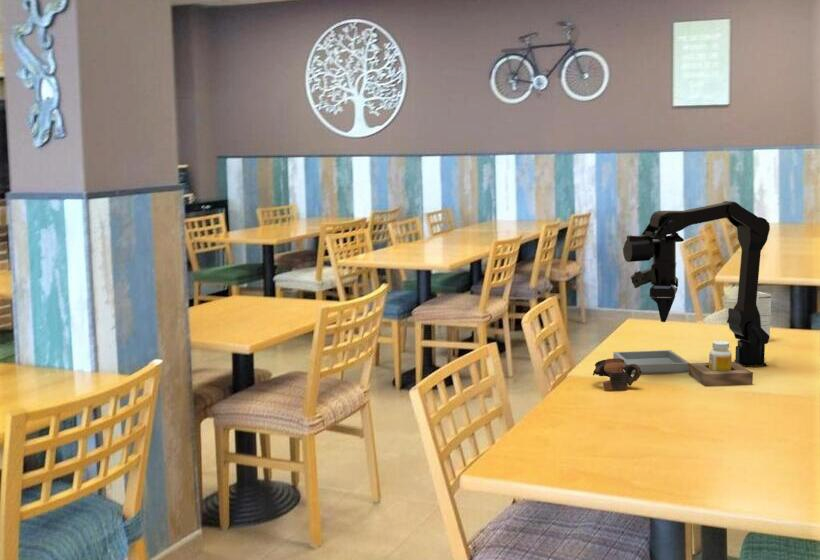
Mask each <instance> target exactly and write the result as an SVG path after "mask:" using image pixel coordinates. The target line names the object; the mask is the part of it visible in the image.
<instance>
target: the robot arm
mask: <svg viewBox="0 0 820 560" xmlns="http://www.w3.org/2000/svg"><path fill="white" fill-rule="evenodd" d="M722 219H727V220H728V222H729V223H730V224H731V225H733V227H735V228H736V230H737V231H736V232H737V234H736V235H737V240H738V242H739V246H740V248H741V255H740V265H739V277H738V291H737V300H736V301H737V302H736V304H735V305H734V307H733V308H731V307H729V308H728V310H727V312H728V317H727V320H726V323H727V324H728V328H729V330H730V331H731V332H732V333H733V336H734V338H735V339H736V340H737V345H736V346H735V359H734V362H736V363H738V364H739V365H741V366H743V367H758V366H759V367H764V366H768V363H767V362H765V354H766V353H765V349H766V345H767V344H768V343H769V342H770V341H769V338H770V336H771V335H770V336H769V335H768V334H767V333H766V332H765V331H764V330H763V329H762V328H761V319H760V314H759V311H758V308H757V305H756V301H757V292H758V286H759V275H760V263H761V256H762V255H761V253H762V250H763V248H764V247H765V245H766V244H767V241H768V238H769V234H770V230H771V226H770V223H769V222H768V220H767V219H766V218H764V217H760V216H757V215H756V214H754V213H753V212H751V211H749V210H747V209H746V208H745V207H743V206H742V205H740V204H739V203H738V202H736V201H729V200H725V201H723V202H719V203H714V204H710V205H705V206H700V207H695V208H691V209H685V210H657V211H654V212H653V213H652V215H651V217H650V219H649V223H648V224H647V226H646V227H645V229H644V230H643V232H642V233H641V234H640V235H632V234H631V235H629V234H628V235H626V240H625V241H624V245H623V247H622V253H623V258H624V260H625V262H626V263H633V262H648V261H650V260H651V259H652V264H651V266H650V267H651V268H647V269H644V270H639V271H635V272H634V273H633V274H632V275H630V279H631V283H632V285H633V288H634V289H638V288H640V287H641V286H643V285H647V284H649V283H650V285H651V287H650V288H649V298H650V299H651V300H653V301H654V302H655V304H656V305H657V310H658V314H659V318H660V322H661V323H666V322H667V319H668V317H669V313H670V311H671V309H672V307H673V303H674V301H675V298H676V294H677V292H678V287H679V278H678V277H677V275H676V274H677V272H676V269H677V259H676V258H677V257H676V256H677V255H676V254H677V253H676V251H677V250H676V249H677V243H679V242H680V243H681V242H684V240H685V239H684V238H682V236H680V235H679V233H678V232H680V231H683V230H685V229H686V228H688V227H689V226H693V225H699V224H702V223H703V224H704V223H708V222H712V221H717V220H722ZM768 341H769V342H768Z"/></svg>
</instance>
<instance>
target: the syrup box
mask: <svg viewBox="0 0 820 560" xmlns="http://www.w3.org/2000/svg"><path fill="white" fill-rule="evenodd" d="M756 305H757V308H758V311H759V314H760V319H761V328H762V329H763V330H764V331H765V332H766V333H767V334H768V335H769V336H771V311H772V294H771V293H767V292H761V291H757V301H756ZM770 340H771V339H770V338H769V341H768V343H769V342H770Z"/></svg>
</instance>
